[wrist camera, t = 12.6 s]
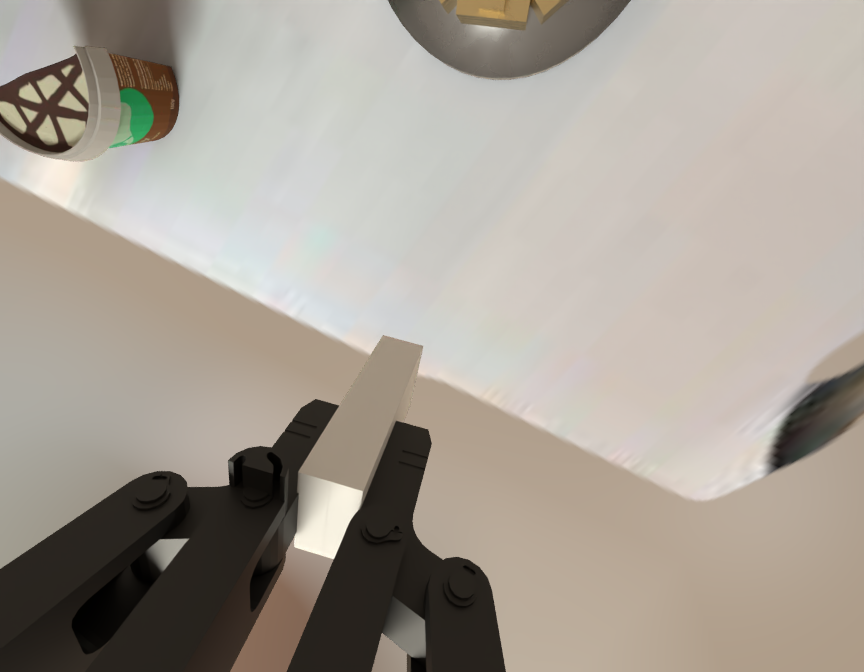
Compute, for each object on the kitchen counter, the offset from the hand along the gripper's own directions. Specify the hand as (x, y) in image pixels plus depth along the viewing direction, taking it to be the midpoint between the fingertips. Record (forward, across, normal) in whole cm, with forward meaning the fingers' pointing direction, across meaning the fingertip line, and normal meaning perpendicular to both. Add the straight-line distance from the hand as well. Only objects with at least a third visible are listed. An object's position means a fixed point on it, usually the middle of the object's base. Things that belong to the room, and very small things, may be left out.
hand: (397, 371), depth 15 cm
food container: (+27, +32, -2) cm, 42 cm away
